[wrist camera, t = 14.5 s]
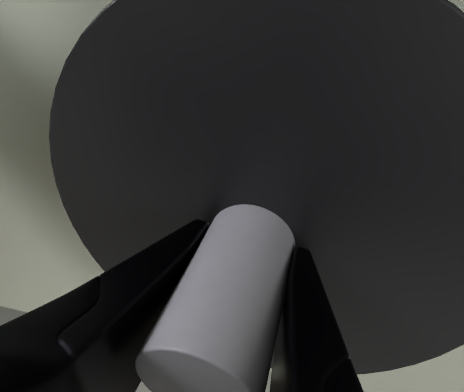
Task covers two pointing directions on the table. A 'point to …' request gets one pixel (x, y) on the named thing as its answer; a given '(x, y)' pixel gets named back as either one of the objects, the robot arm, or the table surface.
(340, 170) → the lid
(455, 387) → the table surface
